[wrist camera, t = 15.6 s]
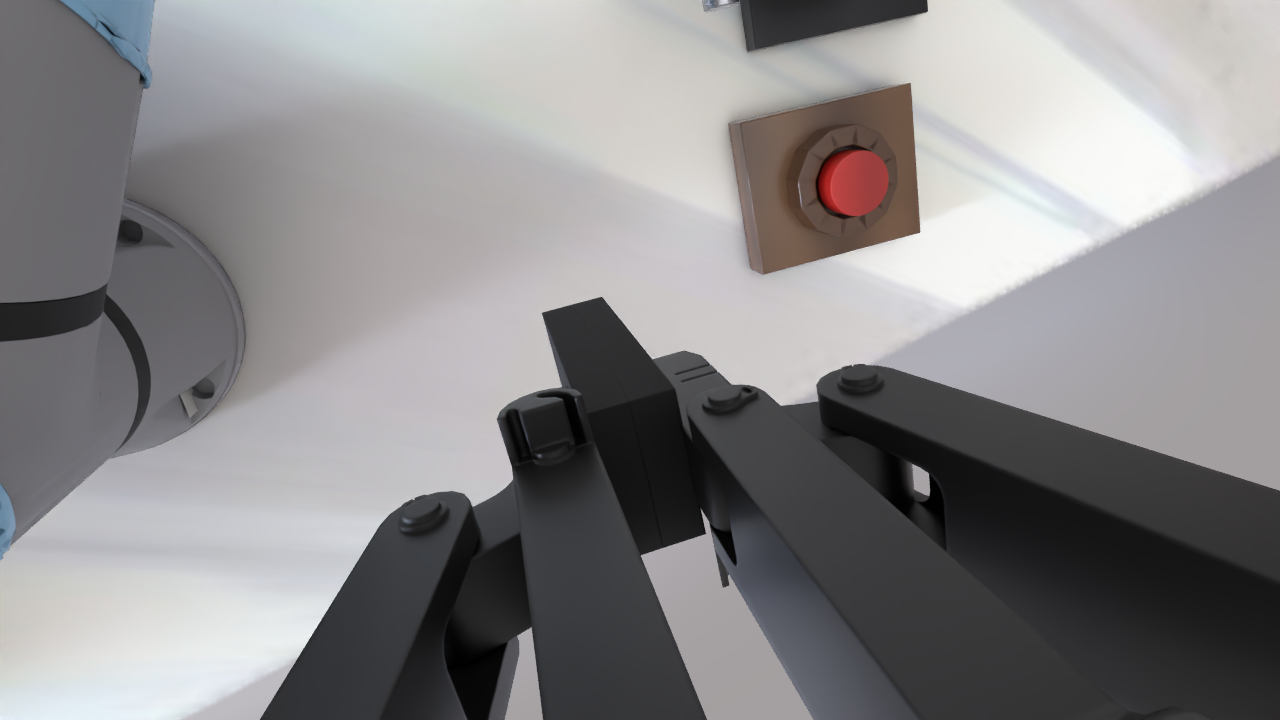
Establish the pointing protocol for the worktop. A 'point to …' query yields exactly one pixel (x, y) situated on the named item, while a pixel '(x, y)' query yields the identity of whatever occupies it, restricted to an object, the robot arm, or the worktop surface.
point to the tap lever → (718, 4)
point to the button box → (791, 164)
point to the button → (853, 182)
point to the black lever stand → (817, 18)
